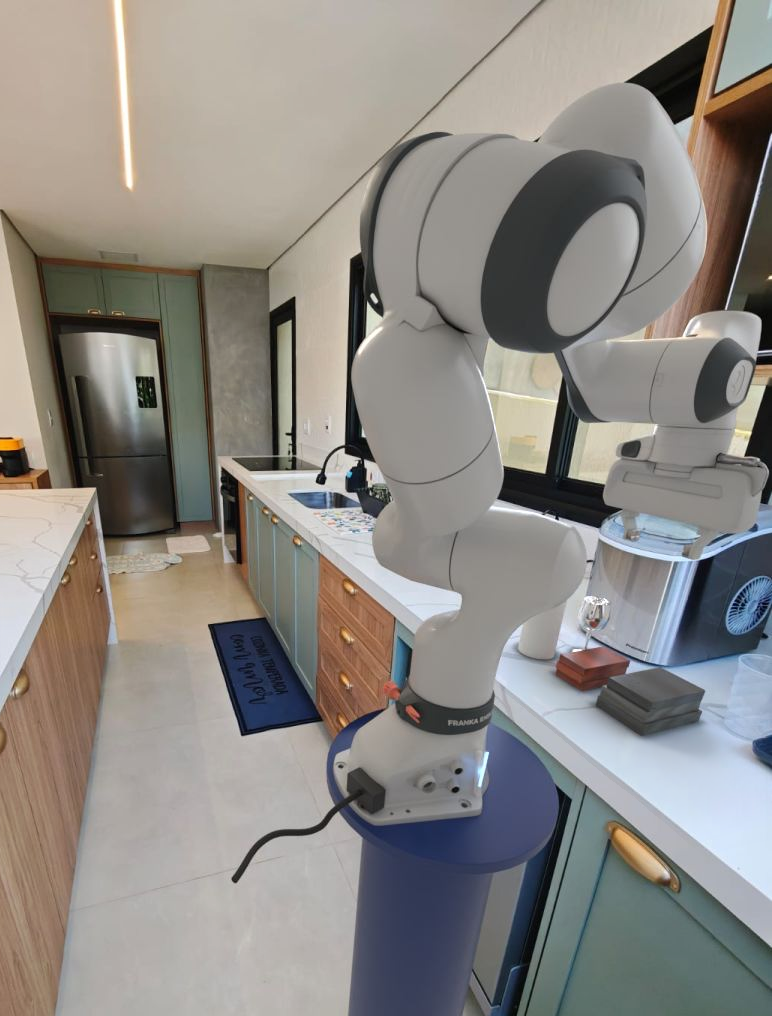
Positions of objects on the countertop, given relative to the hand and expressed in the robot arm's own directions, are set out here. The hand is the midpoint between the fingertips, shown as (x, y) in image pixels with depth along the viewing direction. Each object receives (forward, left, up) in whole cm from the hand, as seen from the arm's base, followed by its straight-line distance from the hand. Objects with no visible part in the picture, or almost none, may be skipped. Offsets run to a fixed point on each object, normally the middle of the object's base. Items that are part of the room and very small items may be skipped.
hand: (658, 548), depth 73 cm
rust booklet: (+7, +11, -26) cm, 29 cm away
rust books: (+7, +11, -29) cm, 32 cm away
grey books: (+7, -1, -29) cm, 30 cm away
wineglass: (+14, +19, -29) cm, 37 cm away
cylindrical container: (+5, +23, -29) cm, 37 cm away
